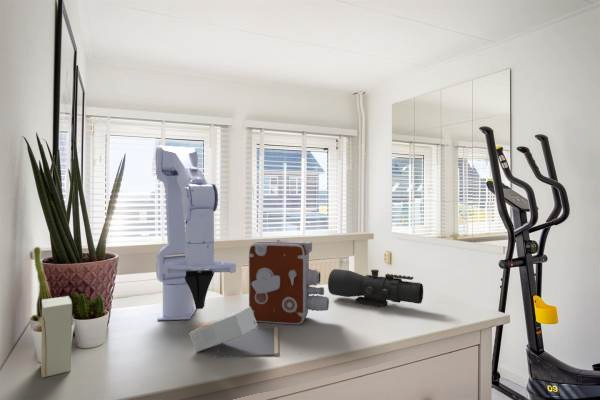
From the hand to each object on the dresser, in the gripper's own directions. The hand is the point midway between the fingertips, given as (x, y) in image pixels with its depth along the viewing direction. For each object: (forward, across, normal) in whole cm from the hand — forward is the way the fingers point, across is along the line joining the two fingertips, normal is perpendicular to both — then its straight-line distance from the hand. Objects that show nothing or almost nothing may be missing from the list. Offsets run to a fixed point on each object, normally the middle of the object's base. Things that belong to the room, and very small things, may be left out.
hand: (200, 307), depth 74 cm
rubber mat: (+8, +10, +1) cm, 13 cm away
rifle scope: (+8, +44, +25) cm, 51 cm away
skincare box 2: (+6, 0, 0) cm, 6 cm away
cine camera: (+8, +19, +14) cm, 25 cm away
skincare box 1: (+8, -24, -8) cm, 26 cm away
